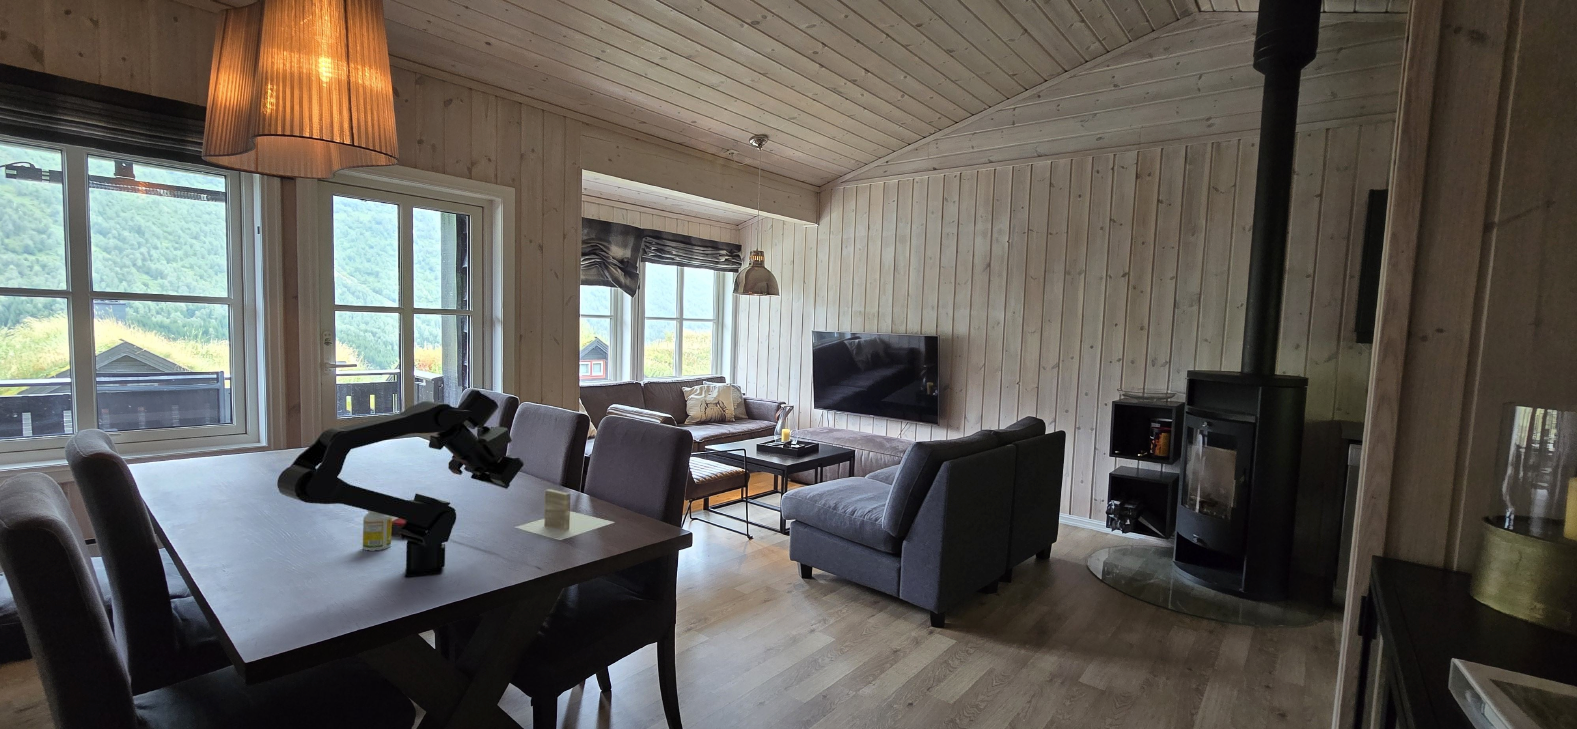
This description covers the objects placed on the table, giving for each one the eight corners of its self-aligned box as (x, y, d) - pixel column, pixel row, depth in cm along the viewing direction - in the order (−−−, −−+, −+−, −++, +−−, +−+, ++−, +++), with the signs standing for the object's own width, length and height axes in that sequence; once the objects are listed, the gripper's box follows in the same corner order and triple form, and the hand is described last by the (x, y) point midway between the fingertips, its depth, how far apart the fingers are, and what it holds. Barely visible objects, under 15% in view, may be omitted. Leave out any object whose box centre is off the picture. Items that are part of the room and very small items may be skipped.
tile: (564, 530, 162) (565, 494, 161) (544, 525, 165) (545, 490, 165) (569, 529, 163) (570, 493, 163) (549, 524, 167) (550, 488, 166)
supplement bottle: (372, 553, 143) (372, 509, 142) (357, 548, 145) (358, 505, 144) (396, 546, 147) (397, 503, 147) (381, 541, 150) (382, 500, 149)
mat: (560, 542, 155) (560, 540, 155) (514, 529, 163) (514, 527, 163) (614, 524, 171) (614, 522, 171) (570, 513, 179) (570, 511, 178)
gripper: (517, 420, 141) (556, 464, 151) (461, 411, 150) (502, 453, 160) (483, 463, 134) (527, 505, 144) (427, 450, 143) (472, 491, 153)
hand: (507, 486), depth 151 cm, fingers closed
